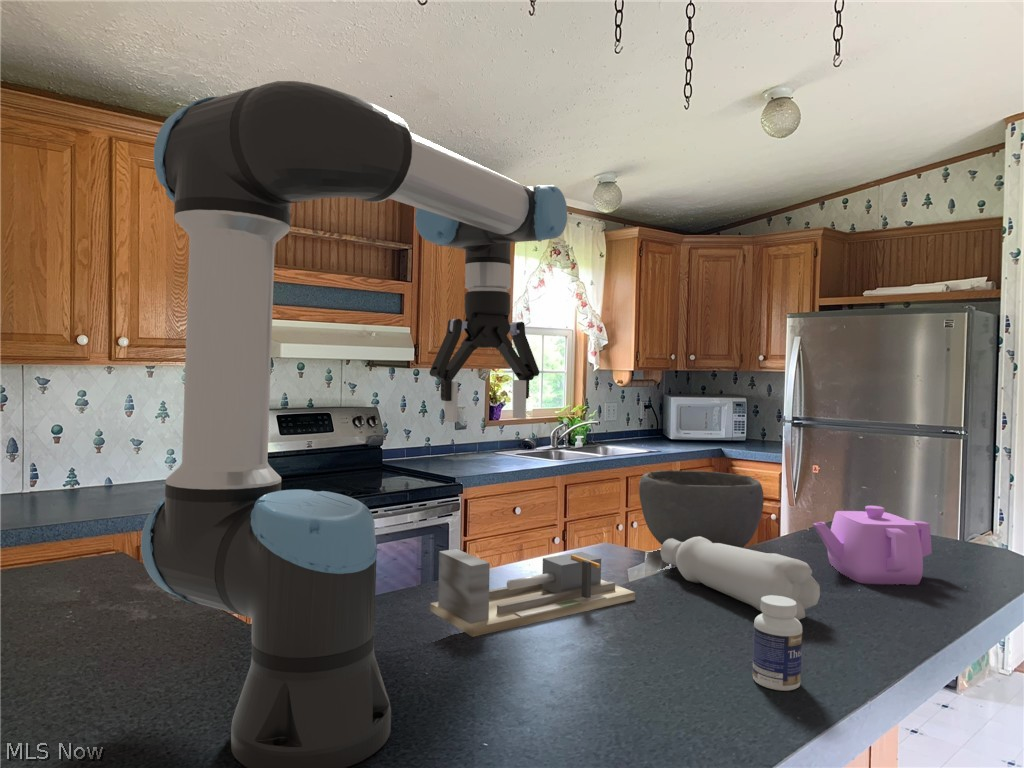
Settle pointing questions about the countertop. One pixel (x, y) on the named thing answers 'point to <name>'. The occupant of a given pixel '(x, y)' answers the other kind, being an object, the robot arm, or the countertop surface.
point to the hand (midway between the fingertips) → (486, 420)
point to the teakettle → (876, 546)
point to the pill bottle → (777, 644)
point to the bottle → (743, 572)
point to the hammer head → (586, 579)
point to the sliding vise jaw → (561, 573)
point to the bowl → (701, 506)
